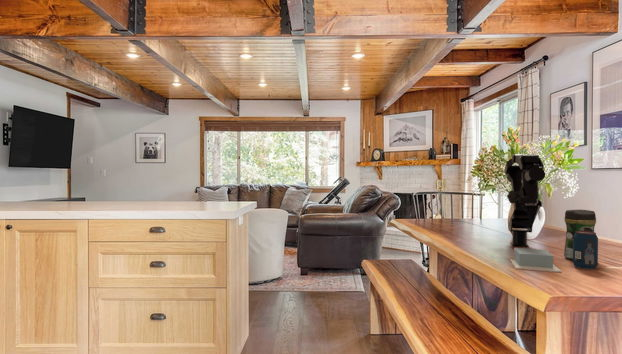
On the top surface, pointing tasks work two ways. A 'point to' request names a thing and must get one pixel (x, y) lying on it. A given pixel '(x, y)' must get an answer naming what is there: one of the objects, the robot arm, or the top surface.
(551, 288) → the top surface
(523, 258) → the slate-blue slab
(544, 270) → the beige square plate
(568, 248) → the coffee jar
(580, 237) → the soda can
